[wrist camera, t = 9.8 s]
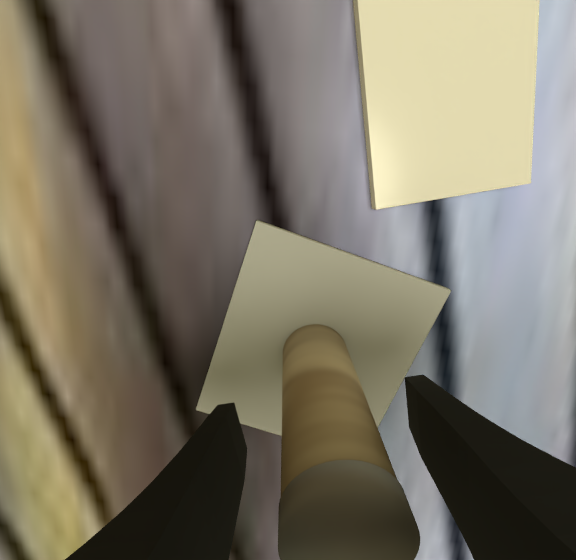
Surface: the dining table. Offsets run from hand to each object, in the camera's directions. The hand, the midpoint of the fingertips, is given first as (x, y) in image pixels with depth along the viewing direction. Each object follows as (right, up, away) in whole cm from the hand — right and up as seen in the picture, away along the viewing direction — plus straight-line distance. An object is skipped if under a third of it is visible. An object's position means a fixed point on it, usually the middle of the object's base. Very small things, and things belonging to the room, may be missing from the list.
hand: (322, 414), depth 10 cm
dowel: (0, +1, +4) cm, 4 cm away
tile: (+5, +8, +2) cm, 10 cm away
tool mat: (0, +1, +4) cm, 4 cm away
